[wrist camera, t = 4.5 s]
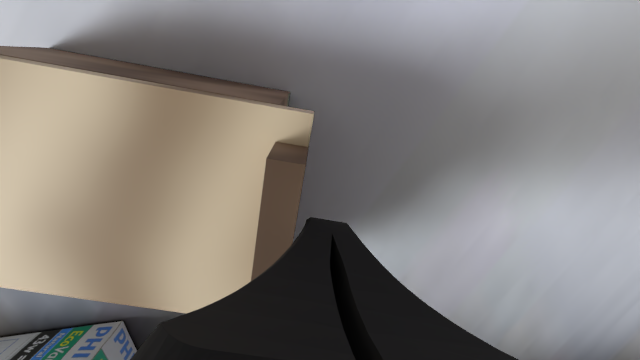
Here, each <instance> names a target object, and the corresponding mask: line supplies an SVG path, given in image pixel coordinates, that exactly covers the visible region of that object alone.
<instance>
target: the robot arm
mask: <svg viewBox="0 0 640 360" xmlns="http://www.w3.org/2000/svg"><path fill="white" fill-rule="evenodd" d="M130 360H518V359H516V358H514V357H512V356H510V355H508V354H506V353H504V352H502V351H500V350H498V349H496V348H495V347H493V346H491V345H489V344H488V343H486V342H484V341H482V340H481V339H479V338H477V337H476V336H474V335H472V334H470V333H469V332H467V331H466V330H464V329H462V328H461V327H459V326H458V325H456V324H454V323H453V322H451V321H450V320H448V319H447V318H445V317H444V316H443V315H441V314H440V313H438V312H437V311H435V310H434V309H433V308H431V307H430V306H428V305H427V304H426V303H424V302H423V301H422V300H420V299H419V298H418V297H417V296H416V295H414V294H413V293H412V292H411V291H410V290H408V289H407V288H406V287H405V286H404V285H402V284H401V283H400V282H399V281H398V280H397V279H396V278H395V277H394V276H393V275H392V274H391V273H390V272H389V271H388V270H387V269H386V268H385V267H384V266H383V265H382V264H381V263H380V262H379V261H378V260H377V259H376V258H375V257H374V256H373V255H372V253H371V252H370V251H369V250H368V249H367V248H366V246H365V245H364V244H363V243H362V242H361V240H360V239H359V238H358V237H357V235H356V234H355V233H354V232H353V230H352V229H351V228H350V227H349V225H348V224H347V223H342V222H336V221H330V220H324V219H318V218H311V217H310V218H309V219H307V220H306V224H305V226H304V228H303V230H302V231H301V233H300V234H299V236H298V237H297V238H296V240H295V241H294V242H293V244H292V245H291V246H290V247H289V248H288V249H287V250H286V252H285V253H284V254H283V255H282V256H281V257H280V258H279V259H278V260H277V261H276V262H275V263H274V264H273V265H271V266H270V267H269V268H268V269H267V270H265V271H264V272H263V273H262V274H260V275H259V276H258V277H256V278H255V279H253V280H252V281H251V282H249V283H248V284H246V285H245V286H243V287H242V288H240V289H239V290H237V291H235V292H233V293H232V294H230V295H228V296H226V297H224V298H222V299H220V300H218V301H216V302H214V303H212V304H209V305H207V306H205V307H203V308H200V309H198V310H195V311H192V312H190V313H187V314H184V315H182V316H179V317H177V318H174V319H171V320H168V321H165V322H162V323H161V324H159V325H158V327H157V328H156V329H155V330H154V331H153V332H152V333H151V335H150V336H149V337H148V338H147V339H146V341H145V342H144V343H143V344H142V345H141V347H140V348H139V349H138V350H137V352H136V353H135V354H134V355H133V356H132V358H131V359H130Z"/></svg>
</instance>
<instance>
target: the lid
mask: <svg viewBox="0 0 640 360" xmlns="http://www.w3.org/2000/svg"><path fill="white" fill-rule="evenodd" d="M313 117H314V111H310V110H304V109H299V108H293V107H287V106H282V105H276V104H271V103H265V102H260V101H254V100H248V99H243V98H237V97H232V96H226V95H220V94H215V93H209V92H204V91H198V90H193V89H187V88H181V87H176V86H170V85H165V84H159V83H154V82H148V81H142V80H137V79H131V78H126V77H120V76H115V75H109V74H103V73H98V72H92V71H87V70H81V69H75V68H70V67H64V66H59V65H53V64H48V63H42V62H36V61H31V60H25V59H20V58H14V57H9V56H3V55H0V287H2V288H9V289H16V290H23V291H31V292H38V293H45V294H52V295H59V296H66V297H73V298H80V299H87V300H94V301H101V302H109V303H116V304H123V305H130V306H137V307H144V308H151V309H158V310H165V311H172V312H179V313H190V312H192V311H195V310H198V309H200V308H203V307H205V306H207V305H209V304H212V303H214V302H216V301H218V300H220V299H222V298H224V297H226V296H228V295H230V294H232V293H233V292H235V291H237V290H239V289H240V288H242V287H243V286H245V285H246V284H248V283H249V282H251V281H252V280H253V279H255V278H256V277H258V276H259V275H260V274H262V273H263V272H264V271H265V270H267V269H268V268H269V267H270V266H271V265H273V264H274V263H275V262H276V261H277V260H278V259H279V258H280V257H281V256H282V255H283V254H284V253H285V252H286V250H287V249H288V248H289V247H290V246H291V245H292V243H293V238H294V232H295V226H296V220H297V214H298V208H299V202H300V196H301V191H302V185H303V179H304V173H305V167H306V160H307V154H308V147H309V141H310V135H311V129H312V123H313Z"/></svg>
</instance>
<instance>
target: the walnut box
mask: <svg viewBox="0 0 640 360" xmlns="http://www.w3.org/2000/svg"><path fill="white" fill-rule="evenodd" d="M0 55H3V56H9V57H14V58H20V59H25V60H31V61H36V62H42V63H48V64H53V65H59V66H64V67H70V68H75V69H81V70H87V71H92V72H98V73H103V74H109V75H115V76H120V77H126V78H131V79H137V80H142V81H148V82H154V83H159V84H165V85H170V86H176V87H181V88H187V89H193V90H198V91H204V92H209V93H215V94H220V95H226V96H232V97H237V98H243V99H248V100H254V101H260V102H265V103H271V104H276V105H282V106H287V107H288V105H289V98H290V92H287V91H282V90H276V89H271V88H265V87H260V86H254V85H249V84H243V83H238V82H232V81H227V80H221V79H216V78H210V77H205V76H199V75H194V74H188V73H183V72H177V71H172V70H166V69H161V68H155V67H150V66H144V65H139V64H133V63H128V62H122V61H117V60H111V59H106V58H100V57H95V56H89V55H84V54H78V53H73V52H67V51H62V50H56V49H51V48H37V47H11V46H0Z"/></svg>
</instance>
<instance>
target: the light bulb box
mask: <svg viewBox="0 0 640 360" xmlns="http://www.w3.org/2000/svg"><path fill="white" fill-rule="evenodd" d="M136 352H137V350H136V348H135V346H134V344H133V341H132V339H131V337H130V335H129V333H128V331H127V329H126V327H125V324H124V322H123V321H119V322H111V323H104V324H97V325H89V326H81V327H74V328H67V329H59V330H52V331H45V332H38V333H30V334H23V335H16V336H9V337H2V338H0V360H130V359H131V358H132V356H133V355H134V354H135V353H136Z"/></svg>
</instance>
